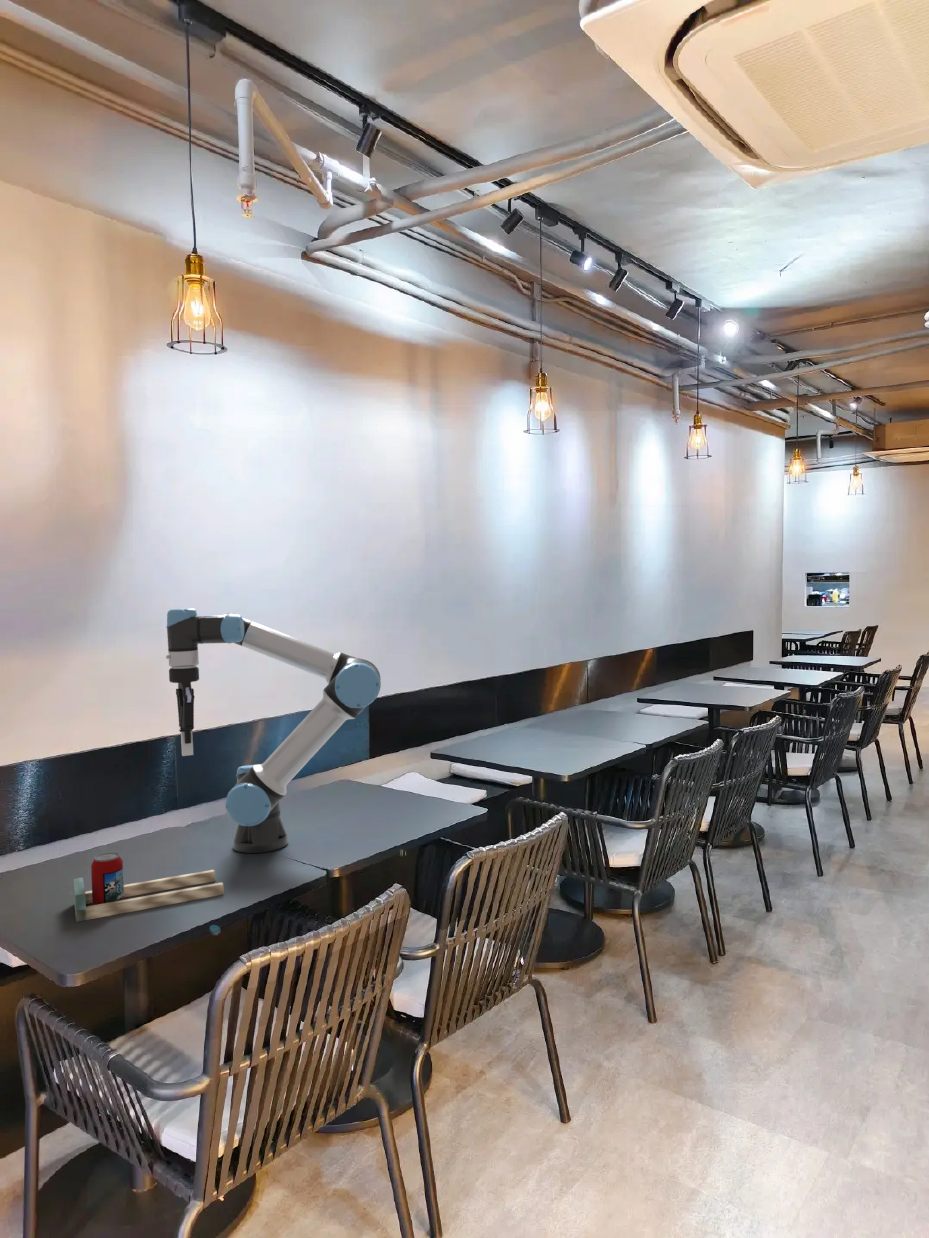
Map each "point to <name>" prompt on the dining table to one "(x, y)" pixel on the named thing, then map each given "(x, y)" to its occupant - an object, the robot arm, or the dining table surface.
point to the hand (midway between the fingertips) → (187, 754)
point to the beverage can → (107, 878)
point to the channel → (151, 900)
